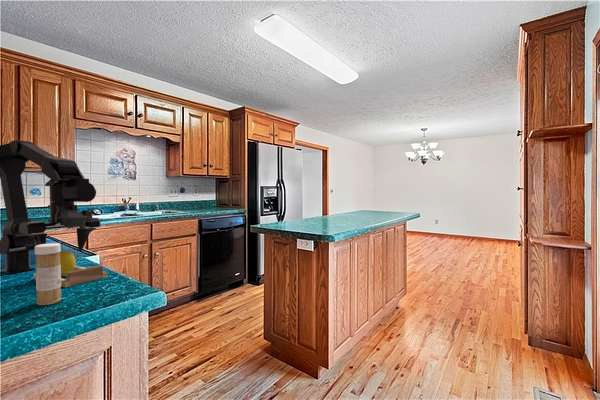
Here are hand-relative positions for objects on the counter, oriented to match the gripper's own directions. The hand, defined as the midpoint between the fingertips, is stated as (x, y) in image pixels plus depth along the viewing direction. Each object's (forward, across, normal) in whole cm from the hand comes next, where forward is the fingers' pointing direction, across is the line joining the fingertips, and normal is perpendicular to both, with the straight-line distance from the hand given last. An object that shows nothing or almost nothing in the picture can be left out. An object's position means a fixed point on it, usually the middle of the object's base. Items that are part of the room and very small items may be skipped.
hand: (63, 253), depth 90 cm
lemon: (+7, 0, 0) cm, 7 cm away
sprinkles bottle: (+7, -13, -21) cm, 26 cm away
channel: (+7, 0, -4) cm, 8 cm away
